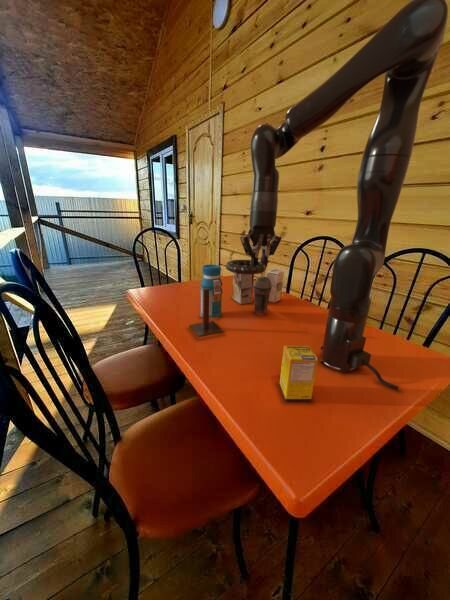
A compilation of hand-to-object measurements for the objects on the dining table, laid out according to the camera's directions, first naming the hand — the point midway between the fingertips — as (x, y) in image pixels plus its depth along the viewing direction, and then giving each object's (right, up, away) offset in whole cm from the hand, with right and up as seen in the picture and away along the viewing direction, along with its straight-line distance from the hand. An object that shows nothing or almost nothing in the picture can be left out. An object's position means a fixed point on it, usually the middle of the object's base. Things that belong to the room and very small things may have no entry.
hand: (258, 269), depth 78 cm
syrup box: (+12, -10, +43) cm, 46 cm away
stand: (-17, -20, +9) cm, 28 cm away
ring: (-4, 0, -2) cm, 5 cm away
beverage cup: (+4, -15, +27) cm, 31 cm away
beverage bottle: (-16, -16, +22) cm, 32 cm away
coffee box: (-2, -10, +41) cm, 43 cm away
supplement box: (+6, -31, -19) cm, 37 cm away
